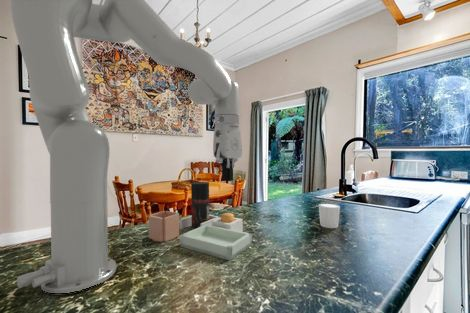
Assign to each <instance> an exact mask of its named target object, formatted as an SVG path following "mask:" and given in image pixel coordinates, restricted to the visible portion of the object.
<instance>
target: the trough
mask: <svg viewBox="0 0 470 313" xmlns="http://www.w3.org/2000/svg"><path fill="white" fill-rule="evenodd" d="M252 245H253V234H252V233H249V232H245V231H243V232H241V231H236V230H231V229H226V228H221V227H216V226H211V225H203V226H201V227H199V228H196V229H192V230H189V231H187V232H184V233H182V234H179V247H181V248H183V249H184V248H185V249H188V250H192V251H195V252H198V253H201V254H206V255H210V256H212V257H215V258H219V259H222V260H227V261H232V260H233V259H235V258H236V257H237V256H239V255H240V254H241V253H243V252H244V251H246V250H247V249H248V248H249V247H251V246H252Z"/></svg>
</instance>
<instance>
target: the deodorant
mask: <svg viewBox="0 0 470 313" xmlns="http://www.w3.org/2000/svg"><path fill="white" fill-rule="evenodd" d="M190 185H191V186H190V188H191V193H190V194H191V200H190V201H191V203H190V204H191V216H192V225H191V229H192V230H194V229H196V228H199V227H200V224H201V223H203V222H206V221H208V220H209V215H210V182H209V181H194V182H191V184H190Z"/></svg>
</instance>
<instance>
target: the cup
mask: <svg viewBox="0 0 470 313" xmlns="http://www.w3.org/2000/svg"><path fill="white" fill-rule="evenodd" d="M177 237H180V213H179V212H176V211H175V212H174V211H170V210H166V211H165V210H163V211H159V212H155V213H150V214H149V215H148V239H151V241H153V242H158V243H159V242H160V243H161V242H162V243H163V242H164V243H165V242H169V241H172V240H174V239H176V238H177Z"/></svg>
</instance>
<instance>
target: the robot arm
mask: <svg viewBox="0 0 470 313" xmlns="http://www.w3.org/2000/svg"><path fill="white" fill-rule="evenodd" d="M10 11H11V18H12V23H13V27H14V31H15V34H16V38H17V41H18V45H19V48H20V52H21V55H22V58H23V62H24V64H25V68H26V72H27V75H28V79H29V97H30V102H31V106H32V109H33V112H34V114H35V117H36V120H37V123H38V127H39V129H40V132H41V134H42V138H43V140H44V143H45V147H46V149H47V152H48V153H49V204H50V243H51V245H50V250H51V251H50V252H51V253H50V256H51V258H50V259H47V260H45V262H44V266H41V267H39V270H36V271H33V272H27V273H25V274H22V275H19V276H17V278H16V284H17V288H18V289H21V288H23V287H26V286H29V285H31V286H32V288H36V287H39V286H40V289H41V290H43V291H42V292H44V291H45V292H44V293H46V292H49V293H68V292H74V291H78V290H82V289H86V288H89V287H91V286H94V285H96V286H98V285H101V284H102V283H104V282H106V281H107V280H109V279H110V278H111V277H112V276H114V274H115V272H116V271H117V262H116V261H115V260H114V259H113V258H110V257H109V229H108V228H109V227H108V226H109V224H108V222H109V221H108V220H109V219H108V218H109V217H108V216H109V215H108V210H109V209H108V173H109V172H108V170H109V161H110V142H109V138H108V137H107V134H106V132H105V131H104V130H103V129H102V128H101V127H100V126H99V125H97V124H95V123H94V122H92V121H90V118H89V114H88V112H87V109H86V106H87V105H88V104H89V101H90V97H91V91H90V88H89V85H88V82H87V80H86V76H85V73H84V70H83V67H82V63H81V59H80V57H79V53H78V50H77V46H76V42H75V38H79V39H85V40H93V41H100V42H105V43H106V42H107V43H116V44H117V43H118V44H119V43H126V42H129V41H130V40H132V41H133V42H134V43H135V44H136V45H137V46H138V47H139V48H140V49H141V50H142V51H144V53H145V54H147V55H148V56H149V57H150V58H151V59H152V60H153V61H154V62H156V64H159V65H162V66H167V67H174V68H180V69H182V70H183V69H184V70H185V71H188V72H190V73H192V74H193V75H195V76H196V77H198V78H196V79H195V80H193V81H192V82H190V84H189V85H188V88H187V94H188V96H189V97H188V98H190V100H191V101H193V103H195V104H197V105H214V129H213V140H212V141H213V144H212V149H213V151H212V152H213V157H215V162H216V163H217V164H219V165H220V168H221V181H222V182H232V181H234V167H235V163H237V162H238V160H239V159H240V158H241V157H242V156H243V149H242V147H243V146H242V135H241V134H242V132H241V129H240V118H239V117H240V88H239V87H240V86H239V84H238V83H237V82H235V81H233V80H231V78H230V76H229V74H228V73H227V71H226V69H224V68H223V66H222V65H221V64H220V62H218V60H217V59H216V58H215V57H214V56H213V55H212V54H210V53H209V52H208V51H206V50H204V49H202V48H201V47H199V46H196V45H195V44H194V43H191V42H189V41H186V40H184V39H182V38H181V37H179V36H178V35H177V34H176V33H175V32H174V30H172V29H171V28H170V26H169V25H168V24H167V23H166V22H165V21H164V20H163V18H161V17H160V15H159V14H158V13H157V12H156V11H155V10H154V9H153V8H152V7H151V6H150V5H149V3H148V2H146V0H104V2H103V4H98V3H97V4H96V3H93V0H10ZM100 283H101V284H100ZM97 284H98V285H97ZM94 287H95V286H94ZM91 288H92V287H91ZM89 289H90V288H89ZM86 290H87V289H86ZM82 291H83V290H82ZM49 293H48V294H49ZM74 293H75V292H74Z"/></svg>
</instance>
